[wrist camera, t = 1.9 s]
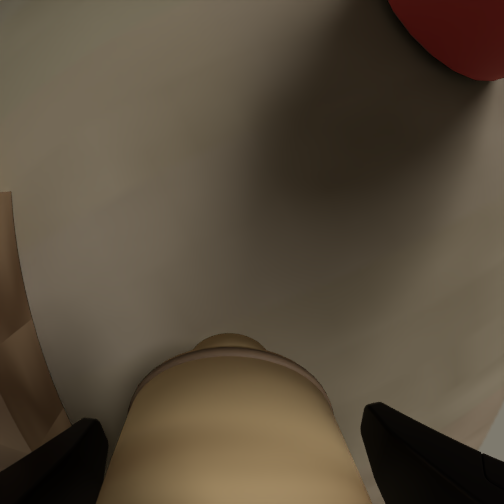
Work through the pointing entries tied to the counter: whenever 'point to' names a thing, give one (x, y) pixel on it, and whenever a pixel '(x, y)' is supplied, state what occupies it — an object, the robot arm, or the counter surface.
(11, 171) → the counter surface
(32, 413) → the board
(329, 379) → the counter surface
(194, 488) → the peg
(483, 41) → the beer can
